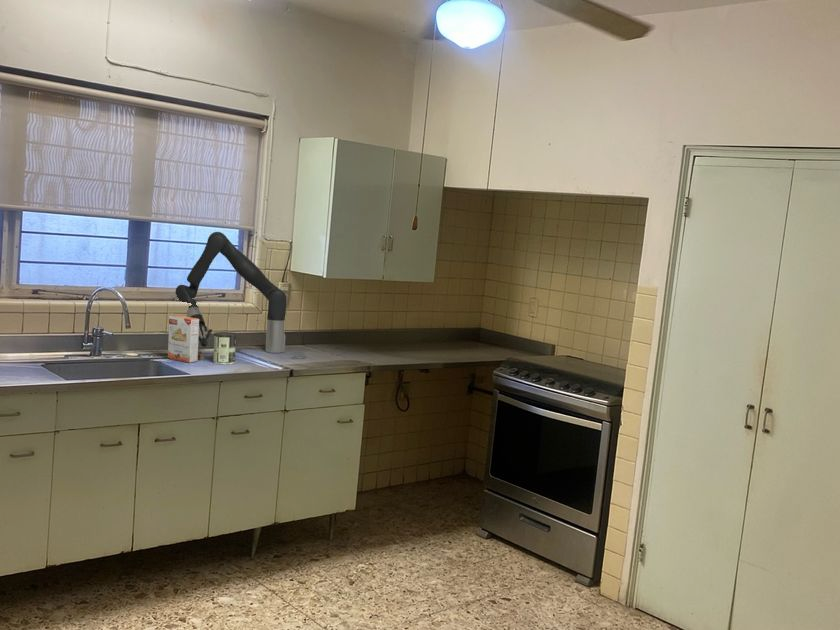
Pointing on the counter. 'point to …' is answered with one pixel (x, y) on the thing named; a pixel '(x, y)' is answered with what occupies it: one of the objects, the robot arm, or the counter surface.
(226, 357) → the coffee can
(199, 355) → the chute
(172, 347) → the cracker box
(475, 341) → the counter surface
